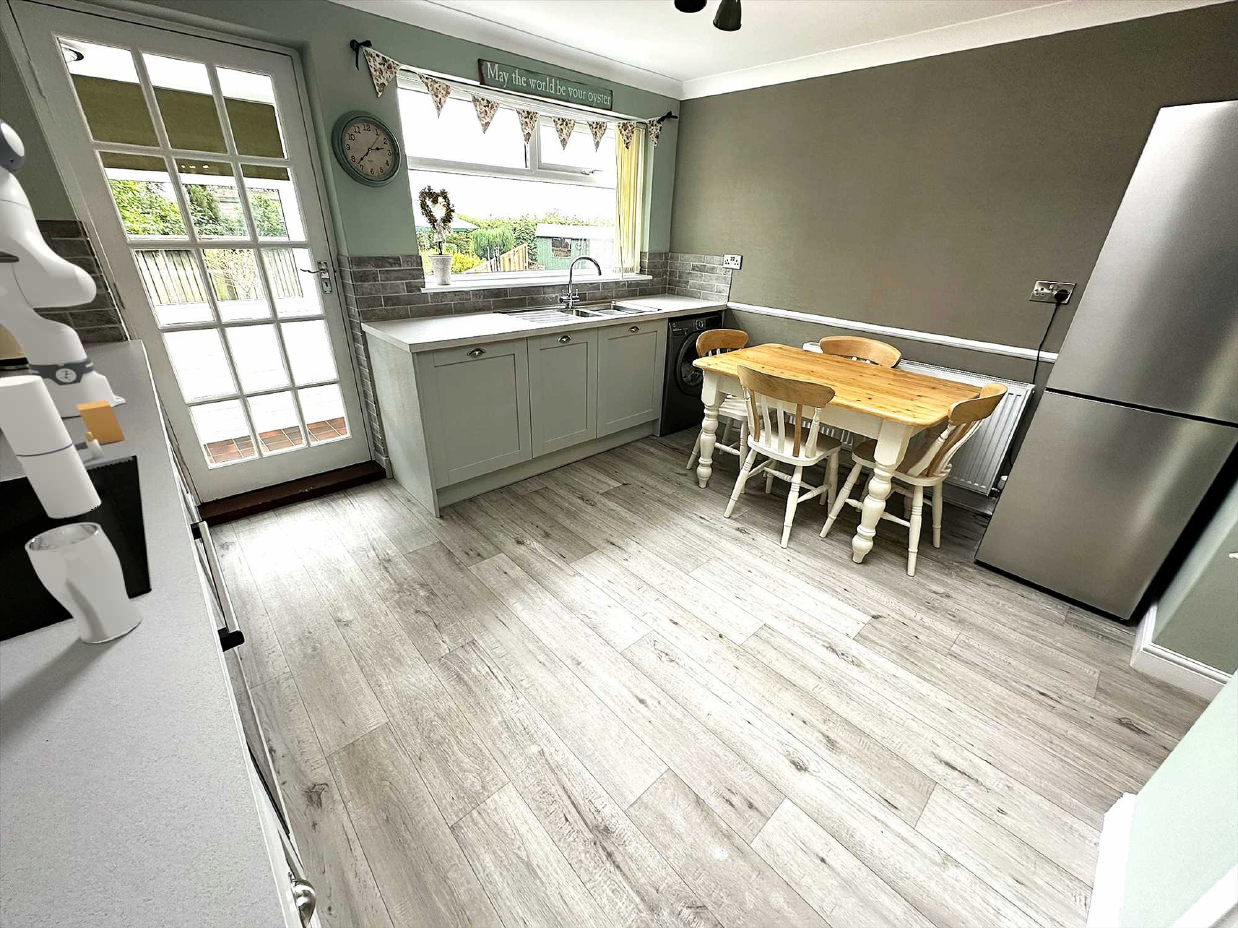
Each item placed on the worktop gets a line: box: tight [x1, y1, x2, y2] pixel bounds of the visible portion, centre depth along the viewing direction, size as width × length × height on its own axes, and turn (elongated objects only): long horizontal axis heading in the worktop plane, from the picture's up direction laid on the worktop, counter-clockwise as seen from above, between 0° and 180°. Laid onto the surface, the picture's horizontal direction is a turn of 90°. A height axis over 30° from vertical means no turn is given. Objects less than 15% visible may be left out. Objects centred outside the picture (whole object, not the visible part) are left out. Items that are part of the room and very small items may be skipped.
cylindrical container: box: [0, 374, 102, 519], centre depth 89 cm, size 7×7×25 cm
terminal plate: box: [76, 440, 134, 471], centre depth 113 cm, size 12×10×1 cm
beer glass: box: [24, 521, 143, 644], centre depth 64 cm, size 7×7×15 cm
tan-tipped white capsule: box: [83, 431, 104, 459], centre depth 111 cm, size 2×2×6 cm
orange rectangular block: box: [77, 400, 125, 446], centre depth 121 cm, size 5×5×9 cm
